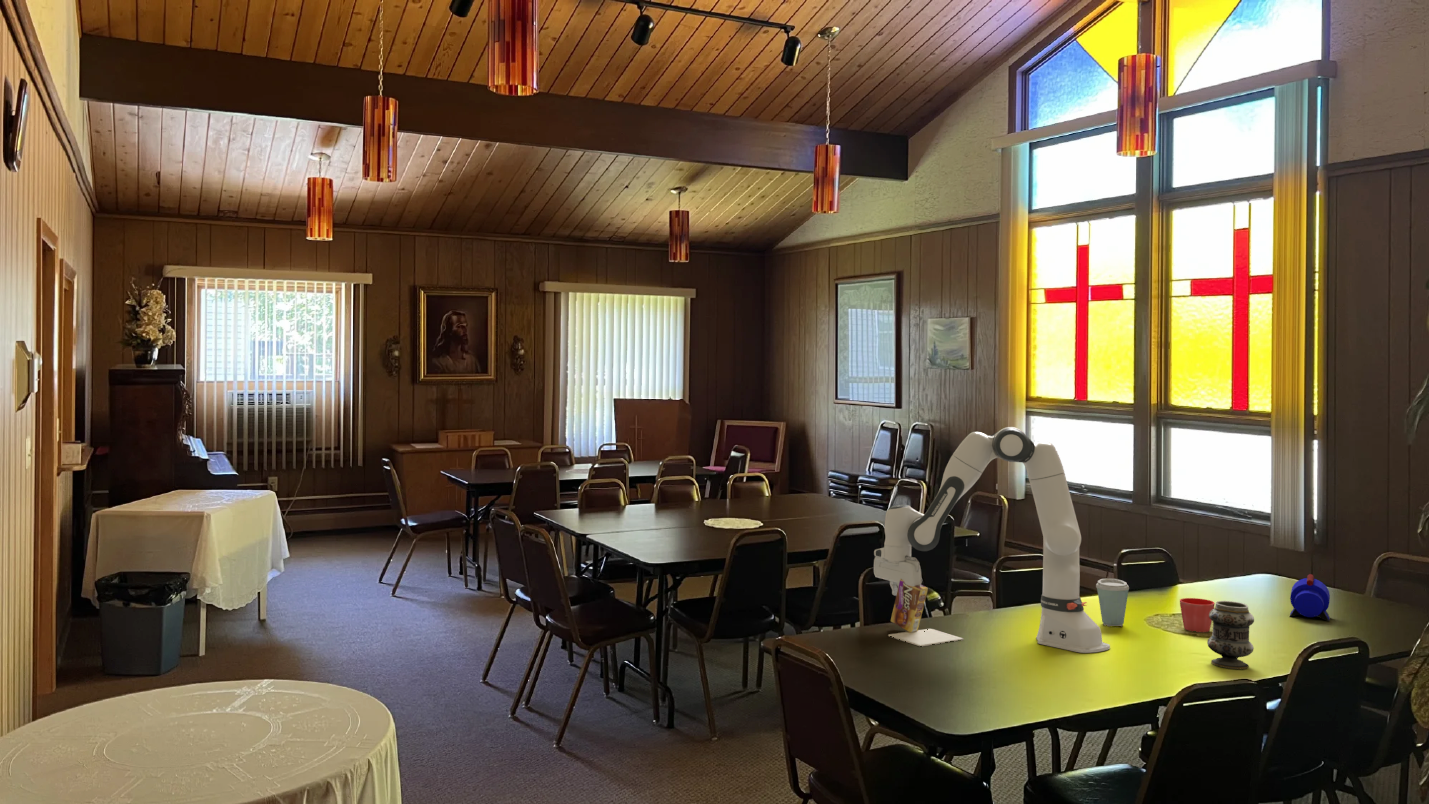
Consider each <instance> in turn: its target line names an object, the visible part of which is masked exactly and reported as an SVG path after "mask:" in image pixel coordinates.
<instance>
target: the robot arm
mask: <svg viewBox="0 0 1429 804" xmlns="http://www.w3.org/2000/svg"><path fill="white" fill-rule="evenodd" d="M994 459H1001V460H1003V461H1006V462H1010V463H1022V464H1023V465H1024V467H1025V469H1026V472H1027V477H1028V481H1029V484H1030V488H1031V493H1032V496H1033V500H1034V503H1035V507H1036V508H1035V509H1036V513H1037V517H1038V520H1039V526H1040V529H1041V533H1042V536H1043V537H1042V538H1043V540H1042V541H1043V542H1042V543H1043V545H1042V547H1043V548H1042V554H1043V555H1042V556H1043V557H1042V594H1041V595H1040V596H1041V597H1040V606H1041V614H1040V622H1039V628H1038V631H1037V635H1036V637H1035V638H1036V641H1037V644H1040V645H1044V646H1048V647H1051V648H1057V649H1060V650H1061V649H1062V650H1065V651H1066V650H1067V651H1071V652H1076V653H1079V654H1080V653H1081V654H1089V653H1091V654H1093V653H1098V652H1099V653H1100V652H1104V651H1108V650H1109V649H1111V644H1109V643H1107V642H1106V643H1105V642H1103V637H1102V636H1103V635H1102V629H1101V627H1100V626H1099V625H1098V624H1097V623H1096V622H1095V621H1094V620H1093V619H1092V618H1091V617H1090V616H1089V614H1087V613H1086V611H1085V610H1084V609H1085V608H1084V607H1087V603H1088V602H1087V601H1084V602H1082V599H1081V597H1080V581H1081V580H1080V572H1081V569H1080V546H1081V543H1082V535H1081V530H1080V527H1079V523H1078V520H1077V515H1076V512H1075V507H1074V504H1073V501H1072V495H1071V493H1070V489H1069V485H1068V482H1067V477H1066V474H1065V469H1064V466H1063V463H1062V461H1061V457H1060V456H1059V453H1058V451H1057V450H1056V447H1055V446H1054V445H1053V443H1051V442H1048V441H1036V442H1035V441H1034V442H1033V441H1032V440H1031V439H1030V437H1028V436H1027V434H1026V433H1025V432H1024V431H1023V430H1022V429H1020V428H1018V427H1015V426H1006V427H1004V428H1002V429H1000V430H998V431H997V432H995V433H993V434H991V435H988V434H986V433H983V432H981V431H972V432H970V433H969V434H968V435H967V436H966V437H965V438H964V439H963V440H962V441H961V442H960V443H959V445H958V447H957V448H956V449H955V451H954V452H953V453H952V455H951V456H950V458H949V460H948V463H947V464H946V466H945V468H944V472H943V475H942V478H941V479H942V480H941V484H940V488H939V490H938V492H937V494H936V495H935V497H934V498H933V500H932V502H931V503H930V505H929V507H928V509H927V511H926V512H925V513H922V512H919V511H917V510H916V509H914V508H913V507H911V505H910V504H909V505H908V504H896V505H893V506H890V507H889V508H888V509H887V510H886V512H885V518H884V535H885V539H884V546H883V547H881V548H876V549H874V551H873V555H874V559H873V574H874V576H875V578H878V579H880V580H881V579H883V580H885V581H889V585H890V588H891V594H892V595H893V596H896V595H897V591H898V586H899V582H900V579H902V580H903V581H904V583H905V584H906V585H908V586H912V587H914V586H919V585H922V583H923V582H922V569H921V565H920V561H919V560H918V559H917V558H916V557H913V556H912V548H913V549H915V550H917V551H921V552H928V551H931V550H934V548H936V547H937V545H938V544H939V541H940V538H941V530H942V527H943V524H944V523H945V521H946V519H947V518H948V516H949V514H950V512H951V511H952V510H953V508H954V506H955V505H956V504H957V502H958V501H959V500H960V499H961V498H962V497H963V496H964V495H965V494H966V493H967V492H968V491H969V490H971V488H972V487H973V486H974V485H975V484H976V482H978V480H979V479H980V478H981V476H982V474H983V473H984V471H985V469H986V468H987V466H988V465H989V463H990V462H992V461H993V460H994Z"/></svg>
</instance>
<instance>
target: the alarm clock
mask: <svg viewBox="0 0 1429 804" xmlns="http://www.w3.org/2000/svg"><path fill="white" fill-rule="evenodd" d="M1330 598H1331V595H1330V590H1329V588H1328V587H1327V586H1326V584H1324V582H1322V581H1320V580H1318V579H1316V578H1315V576H1314V574H1311V573H1309V574H1308V575H1307V577H1305V578H1302V579H1299V580H1297V581H1295V583H1294V584H1293V586H1292V587H1291V592H1290V598H1289V599H1290V604H1291V606H1292V608H1293V609H1292V610H1291V611H1290V614H1289V618H1291V617H1295V616H1300V615H1302V616H1304V617H1307V618H1314V617H1318V618H1320V619H1322V620H1324V621H1326V622H1328V623H1329V622H1330V617H1331V616H1330V615H1329V613H1328V612H1327V610H1328V608H1329V606H1330V601H1331V600H1330Z"/></svg>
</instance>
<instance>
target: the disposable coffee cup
mask: <svg viewBox="0 0 1429 804" xmlns="http://www.w3.org/2000/svg"><path fill="white" fill-rule="evenodd" d="M1095 588H1096V591H1097V595H1098V602H1099V610H1100V615H1101V621H1102V624H1103V626H1106V625H1107V626H1106V627H1110V626H1121V627H1123V625H1124V623H1125V618H1126V617H1125V615H1126V609H1127V601H1128V596H1129V589H1130V587H1129V585H1128V584H1127V582H1126V581H1124V580H1121V579H1118V578H1101V579H1099V580H1097V583H1096V584H1095Z"/></svg>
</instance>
